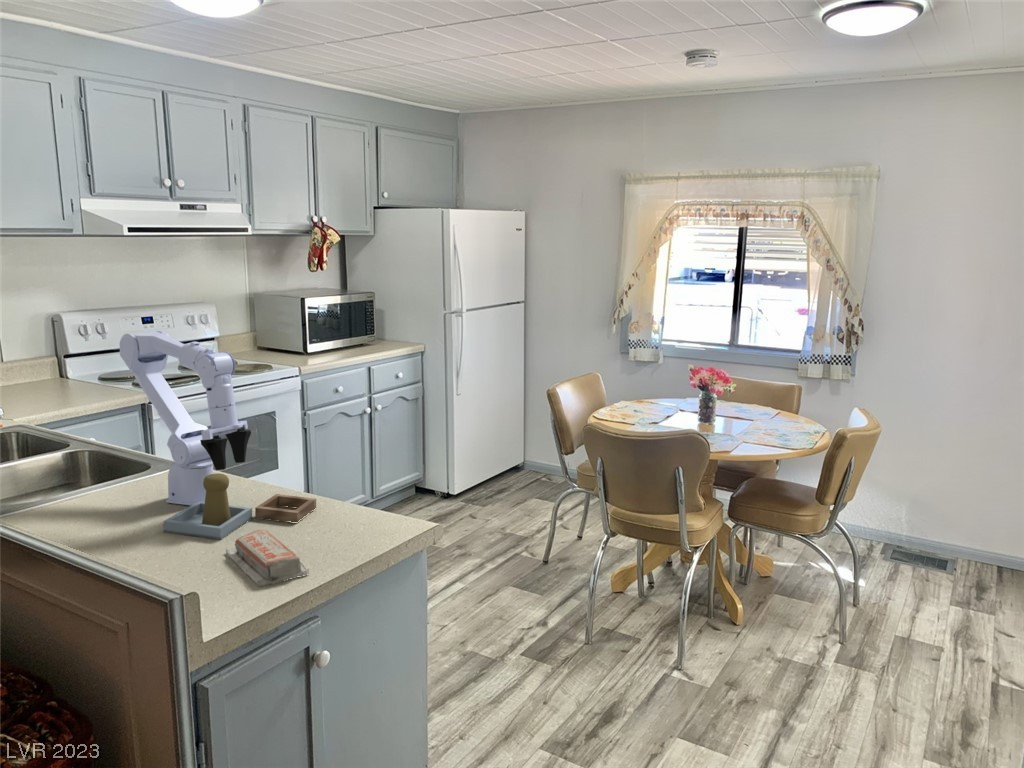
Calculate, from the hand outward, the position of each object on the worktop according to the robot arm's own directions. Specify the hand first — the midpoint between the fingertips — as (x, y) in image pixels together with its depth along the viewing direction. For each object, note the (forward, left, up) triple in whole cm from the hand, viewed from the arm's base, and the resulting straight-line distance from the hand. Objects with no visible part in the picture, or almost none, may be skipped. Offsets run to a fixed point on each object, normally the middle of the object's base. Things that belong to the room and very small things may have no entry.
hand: (230, 465), depth 177 cm
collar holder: (+12, +3, -11) cm, 17 cm away
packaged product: (+21, -23, -12) cm, 33 cm away
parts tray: (0, -9, -11) cm, 14 cm away
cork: (+2, -9, -11) cm, 14 cm away
